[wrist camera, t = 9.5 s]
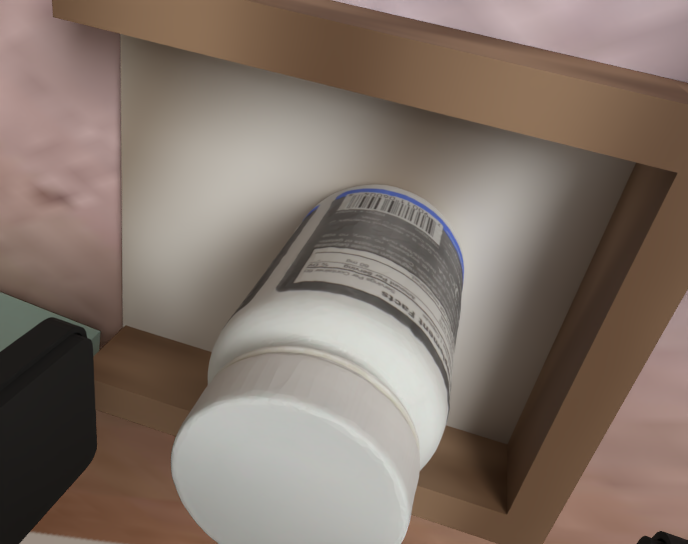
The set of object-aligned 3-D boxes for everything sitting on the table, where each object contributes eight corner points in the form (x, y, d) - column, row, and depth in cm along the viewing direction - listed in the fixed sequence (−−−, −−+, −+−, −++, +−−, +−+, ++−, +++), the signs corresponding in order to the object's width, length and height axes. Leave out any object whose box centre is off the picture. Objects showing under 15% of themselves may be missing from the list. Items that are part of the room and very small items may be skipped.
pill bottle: (358, 353, 18) (260, 617, 11) (266, 230, 17) (88, 438, 10) (499, 292, 16) (492, 569, 9) (407, 145, 15) (312, 333, 8)
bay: (726, 92, 13) (780, 126, 10) (532, 475, 19) (535, 556, 17) (126, -47, 15) (45, -47, 12) (127, 347, 21) (74, 402, 18)
